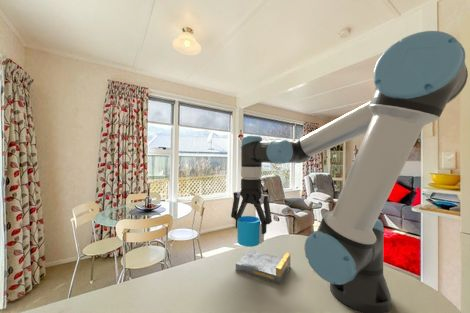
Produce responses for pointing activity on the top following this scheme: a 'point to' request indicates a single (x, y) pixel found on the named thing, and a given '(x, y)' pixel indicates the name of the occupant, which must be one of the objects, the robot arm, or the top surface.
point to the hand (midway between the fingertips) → (250, 239)
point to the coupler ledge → (264, 266)
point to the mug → (248, 231)
